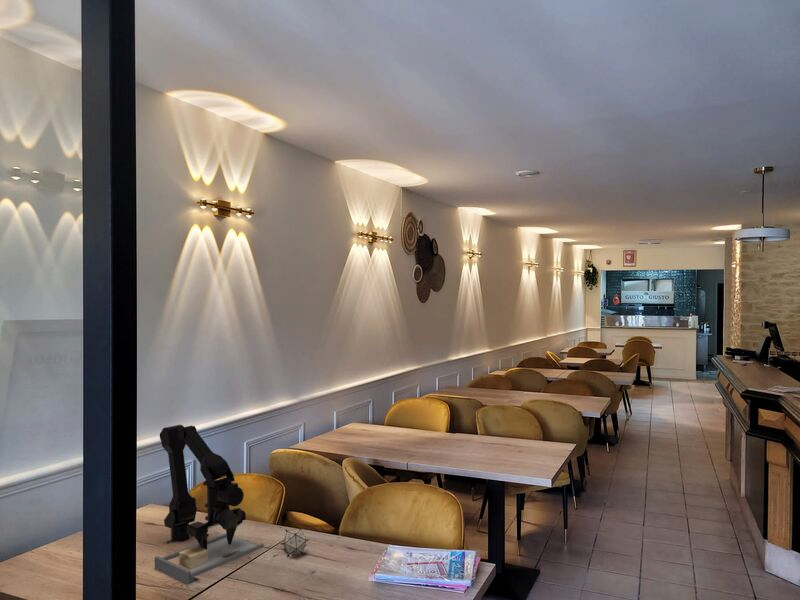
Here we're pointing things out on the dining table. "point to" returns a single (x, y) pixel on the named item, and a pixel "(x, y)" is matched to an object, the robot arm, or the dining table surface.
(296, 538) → the wire geodesic ornament
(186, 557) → the maple block
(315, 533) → the dining table surface
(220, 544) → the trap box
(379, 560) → the dining table surface
